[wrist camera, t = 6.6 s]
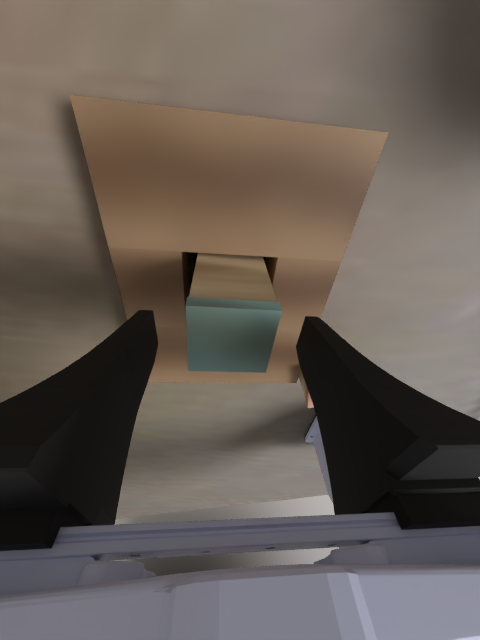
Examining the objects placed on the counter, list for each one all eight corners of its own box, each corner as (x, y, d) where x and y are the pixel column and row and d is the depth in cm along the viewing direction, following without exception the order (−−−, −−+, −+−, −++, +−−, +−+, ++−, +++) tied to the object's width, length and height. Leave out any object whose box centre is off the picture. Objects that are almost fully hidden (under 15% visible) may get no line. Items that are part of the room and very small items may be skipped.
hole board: (289, 359, 21) (296, 382, 19) (150, 357, 20) (142, 381, 18) (360, 132, 12) (388, 132, 10) (98, 101, 10) (69, 94, 8)
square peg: (251, 293, 17) (265, 372, 11) (199, 289, 16) (188, 370, 11) (259, 242, 15) (281, 311, 9) (200, 237, 14) (185, 305, 9)
